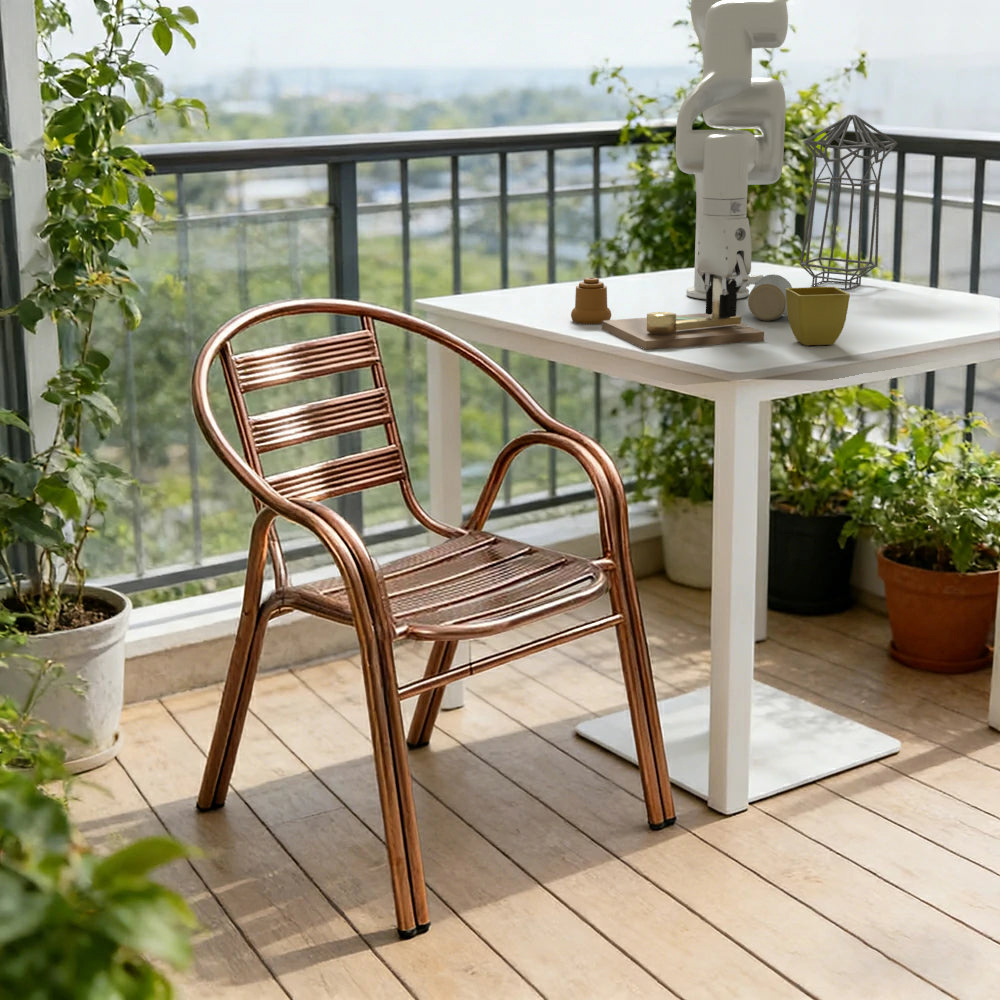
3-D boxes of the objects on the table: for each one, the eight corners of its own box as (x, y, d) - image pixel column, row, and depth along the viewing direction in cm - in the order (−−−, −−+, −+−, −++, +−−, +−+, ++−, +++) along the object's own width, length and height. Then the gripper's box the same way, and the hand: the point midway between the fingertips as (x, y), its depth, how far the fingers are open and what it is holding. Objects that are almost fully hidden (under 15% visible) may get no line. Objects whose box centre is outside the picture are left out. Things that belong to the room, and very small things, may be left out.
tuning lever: (655, 334, 240) (656, 286, 237) (641, 329, 244) (642, 282, 241) (745, 325, 247) (747, 278, 244) (729, 320, 251) (731, 274, 248)
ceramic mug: (745, 321, 261) (747, 279, 259) (752, 313, 268) (754, 273, 266) (803, 325, 258) (806, 282, 255) (808, 317, 265) (811, 276, 263)
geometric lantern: (817, 278, 308) (831, 112, 297) (887, 286, 299) (903, 115, 288) (786, 287, 296) (799, 114, 285) (858, 296, 287) (874, 117, 276)
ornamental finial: (588, 326, 258) (562, 321, 264) (619, 321, 262) (593, 316, 268) (588, 282, 256) (562, 278, 262) (620, 278, 260) (593, 274, 266)
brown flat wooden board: (712, 320, 262) (713, 312, 261) (763, 340, 244) (764, 331, 243) (601, 328, 256) (601, 320, 255) (645, 349, 237) (645, 340, 237)
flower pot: (782, 339, 245) (784, 287, 242) (831, 337, 246) (834, 285, 243) (796, 349, 237) (799, 295, 234) (847, 347, 237) (851, 294, 234)
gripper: (772, 211, 236) (767, 320, 242) (714, 203, 250) (711, 306, 256) (735, 214, 233) (731, 324, 238) (678, 205, 247) (676, 310, 252)
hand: (720, 314), depth 247 cm, fingers closed on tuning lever, 3 cm apart
